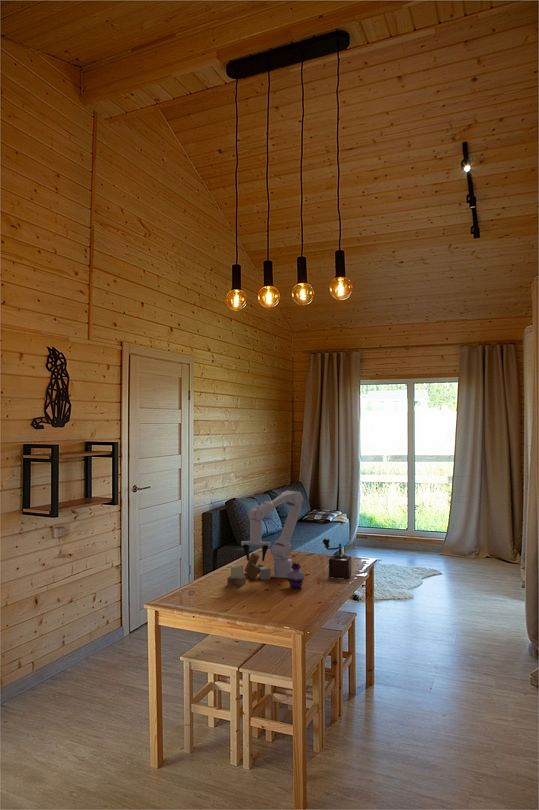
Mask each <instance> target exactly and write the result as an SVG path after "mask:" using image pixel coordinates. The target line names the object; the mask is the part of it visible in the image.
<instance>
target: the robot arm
mask: <svg viewBox="0 0 539 810" xmlns="http://www.w3.org/2000/svg"><path fill="white" fill-rule="evenodd" d="M303 501H304V497H303V494H302V493H301V492H300V491H293V490H285V491H283V492H281V494H279V495H278V496H277V497H275V498H274V499H272V500H271V501H267V500H265V501H263V503H262V504H260V505H257V506H256V508H254V507H252V508H250V509H249V511H248V513H247V518H248V519H249V525H250V526H249V529H250V530H249V540H242V541H240V543H241V544H240V545H241V546H242V549H243V551H244V553H245V555H246V560H247V562H248V561H249V559H250V547H251V546H252V547H253V546H254V547H258V546H259V547H261V549H262V554H261V555H262V556H261V557H262V558H261V561H262V562H264V561H265V558H266V554H267V551H268V549H269V547H270V553H271V555H272V557H273V574H272V576H271V578H277V579H278V578H282V579H283V578H284V579H288V576H287V573H288V572H290V571H293V569H292V568H291V565H293V559H292V558H290V557H291V552H292V544H291V539H292V535H293V533H294V530H295V527H296V524H297V521H298V520H299V517H300V514H301V511H302V504H303ZM282 504H286V506H287V508H288V509H289V512H288V514H287V518H286V521H285V522H284V525H283V527H282V530H281V534H280V536H279V538H277V539H276V540H275V541H274V544H273V545H272V546H271V542H270V541H264V540H262V537H263V535H262V533H263V532H262V525H263V524H262V521H263V520H264V518H265V517H266V516H268V514H270V513H272V512H273V511H274V508H276V507H278V506H280V505H282Z"/></svg>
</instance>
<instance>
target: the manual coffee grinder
mask: <svg viewBox="0 0 539 810" xmlns="http://www.w3.org/2000/svg"><path fill="white" fill-rule="evenodd" d="M330 541H331V540H330V538H324V539H322V543H323V545H324V548H325V549H326V550H327V551H332V550H334V551H335V550H339V551H338V553H336V554H333V555H332V556H330V557H329V559H328V578H329V577H334V578H333V579H338V578H344V579H343V580H349V579H350V578H351V577H350V576H352V575H351V574H352V556H349V555H346V554H344V553H343V552H342V544H341V543H339V544H338V547H331V546H330ZM330 547H331V548H330Z"/></svg>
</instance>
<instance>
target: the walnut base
mask: <svg viewBox="0 0 539 810" xmlns="http://www.w3.org/2000/svg"><path fill="white" fill-rule="evenodd" d="M226 581H227V584H226V585H227V587H233V586H236V587H235V588H242V587H244V586H245V585H246V584H245V583H247V575H245V574H243V576H242V578H231V575H230V576H228V577H227V579H226Z"/></svg>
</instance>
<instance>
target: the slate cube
mask: <svg viewBox="0 0 539 810" xmlns="http://www.w3.org/2000/svg"><path fill="white" fill-rule="evenodd" d="M259 579H260V580H271V567H270V566H264V567H260V571H259Z"/></svg>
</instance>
